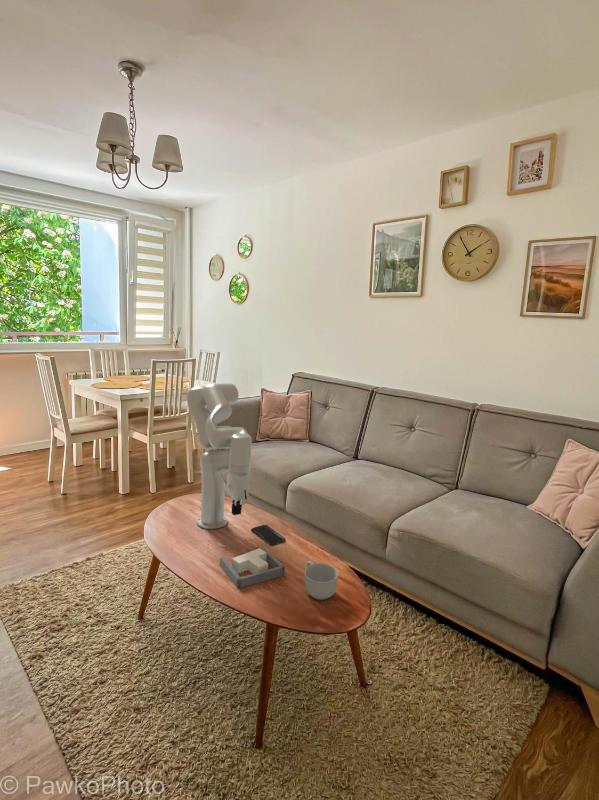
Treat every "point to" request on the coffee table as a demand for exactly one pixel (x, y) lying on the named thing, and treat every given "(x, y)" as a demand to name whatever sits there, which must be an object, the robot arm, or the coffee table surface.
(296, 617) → the coffee table surface
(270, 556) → the bay
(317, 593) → the teacup
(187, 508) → the coffee table surface
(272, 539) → the phone
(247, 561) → the t block
